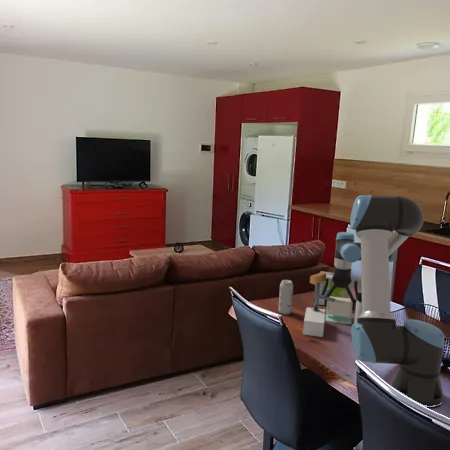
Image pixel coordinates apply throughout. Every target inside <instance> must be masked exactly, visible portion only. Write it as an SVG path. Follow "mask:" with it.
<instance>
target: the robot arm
mask: <svg viewBox="0 0 450 450" xmlns="http://www.w3.org/2000/svg"><path fill="white" fill-rule="evenodd" d="M424 217H425V216H424V213H423V209H422V208H421V206H420V205H419V204H418V203H417V202H416V201H415V200H414V199H411V198H409V197H406V196H399V195H398V196H396V195H395V196H394V195H393V196H392V195H379V194H378V195H375V194H374V195H372V194H364V195H362V194H361V195H359V196H357V197H356V198H355V200H354V203H353V205H352V209H351V213H350V220H349V223H350V224H349V225H350V226H349V227H350V229H352V230H354V231H355V235H354V233H352V232H347V231H340V232H337V234H336V238H335V250H334V251H335V252H334V253H335V254H334V263H333V265H334V267H333V272H332V273H333V277H332V278H328V277H326V283H325V286H324V288H323V291H322V294H321V295H325V292H326V289H327V287H328V283H330V281H331V280H332V281H333V283H334V285H333V286H332V288H331V289H330V290H329V292H328V293H327V295H326V296H327V297H330V295H331V294H332V292H333V291H334V290H335V289H336V287H337V288H346V290H347V292H348V294H349V296H348V297H350V298H349V299H351V305H350V314H349V317H350V318H351V319H352V315H353V314H352V313H353V311H356V301H357V293H359V289H358V283H359V282H358V280H357V279H352V278H351V276H352V267H353V263H356V262H358V261H359V262H360V267H361V269H360V270H361V271H360V274H361V275H360V277H361V278H360V279H361V283H360V284H361V293H362V313H361V314H360V315H359V316H358V317H357V322H356V323H352V324H351V331H350V334H351V335H350V336H351V342H352V346H353V347H352V348H353V351H354V354H355V355H356V358H357V359H358V360H359V361H361V362H365V363H371V364H389V365H390V364H391V365H399V368H398V369H397V371H396V373H395V374H394V376H393V378H392V380H391V385H392V386H393V387H394V388H396V389H397V390H399V391H400V392H402V393H404V394H405V395H407V396H408V397H410V398H412V399H413V400H415V401H417V402H419V403H421V404H423V405H427V406H433V405H438V404H440V403H441V402H442V401H444V391H443V386H442V382H441V377H440V376H441V375H440V374H441V369H442V361H443V354H444V348H445V333H443V331H442V330H441V329H440V328H439V327H437V326H435V325H434V324H431V323H429V322H426V321H423V320H419V319H406V320H404V322H403V325H397V319H396V317H394V315H392V313H391V291H390V290H391V287H390V263H394V261H396V258H397V249H398V248H399V247H400V246H401V245H402V244H404V242H405V241H407V240H408V238H409V237H412V236H414V235H416V234H417V233H418V232H419V231H420V230H421V229H422V227H423V225H424V219H425V218H424ZM355 236H356V237H357V238H358V239H359V241H360V242H355ZM349 284H350V285H351V284H352V286H353V288H354V292H355V297H354V295H353V293H352V291H351V288H350V286H348V285H349ZM328 305H329V301H327V300H324V305H323V307H324V308H326V309H325V316H326V315H328V312H329V306H328ZM391 385H390V386H391ZM442 403H443V402H442Z"/></svg>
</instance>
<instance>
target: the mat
mask: <svg viewBox="0 0 450 450" xmlns="http://www.w3.org/2000/svg"><path fill="white" fill-rule="evenodd" d="M325 322H329V323H335V324H343V325H344V324H345V325H351V326H352V317H351V318H350V317H347V316H338V315H330V314H328V315H326V314H325Z"/></svg>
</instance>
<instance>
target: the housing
mask: <svg viewBox="0 0 450 450" xmlns="http://www.w3.org/2000/svg"><path fill="white" fill-rule="evenodd" d="M313 308H314V307H309V306H308V307H306V309H305V315H304V320H303V329H302V335H305V336H311V337H319V338H320V337H321V338H324V329H325V320H326V309H325V308H318V311H315V310H313Z"/></svg>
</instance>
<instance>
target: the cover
mask: <svg viewBox="0 0 450 450" xmlns="http://www.w3.org/2000/svg"><path fill="white" fill-rule="evenodd" d="M330 298H334V299H335V302H331V301H329V306H328V314H330V315H338V316H347V317H349V314H350V305H351V302H352V300H351V298H349V297H348V298H340V297H331V296H330Z"/></svg>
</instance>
